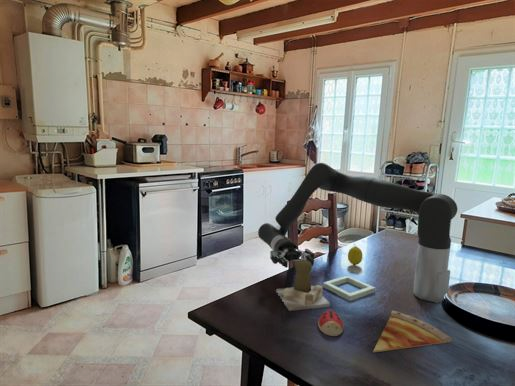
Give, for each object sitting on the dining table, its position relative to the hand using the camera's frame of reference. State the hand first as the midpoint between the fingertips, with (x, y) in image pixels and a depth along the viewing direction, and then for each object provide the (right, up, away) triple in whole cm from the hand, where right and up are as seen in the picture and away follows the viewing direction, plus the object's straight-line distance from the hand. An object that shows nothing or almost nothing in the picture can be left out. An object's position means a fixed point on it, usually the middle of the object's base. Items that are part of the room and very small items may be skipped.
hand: (299, 263), depth 115 cm
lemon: (+25, -6, +28) cm, 38 cm away
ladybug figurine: (+6, -14, -17) cm, 23 cm away
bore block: (+17, -10, +6) cm, 21 cm away
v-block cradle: (+1, -11, -1) cm, 11 cm away
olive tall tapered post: (+1, -10, 0) cm, 10 cm away
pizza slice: (+23, -15, -18) cm, 33 cm away
